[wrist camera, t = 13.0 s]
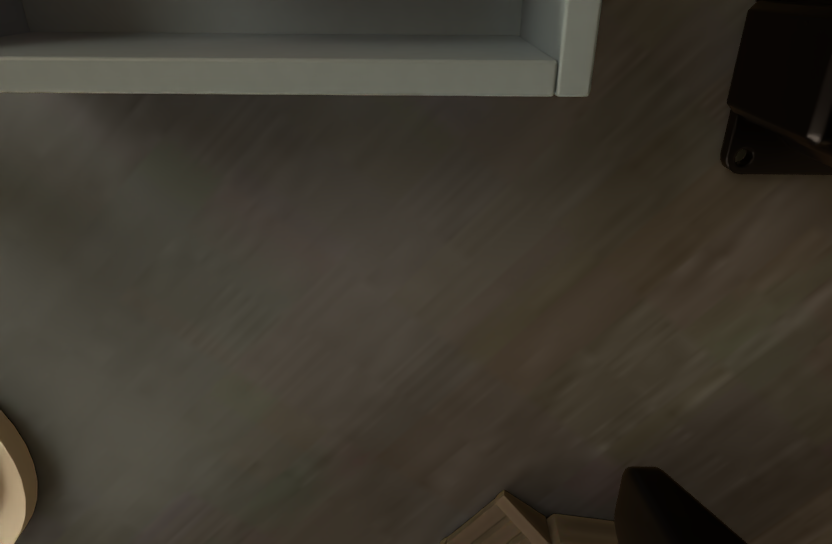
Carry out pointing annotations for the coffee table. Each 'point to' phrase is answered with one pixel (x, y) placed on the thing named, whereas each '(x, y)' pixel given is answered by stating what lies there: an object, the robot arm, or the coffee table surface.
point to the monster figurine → (15, 483)
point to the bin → (300, 47)
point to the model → (529, 526)
